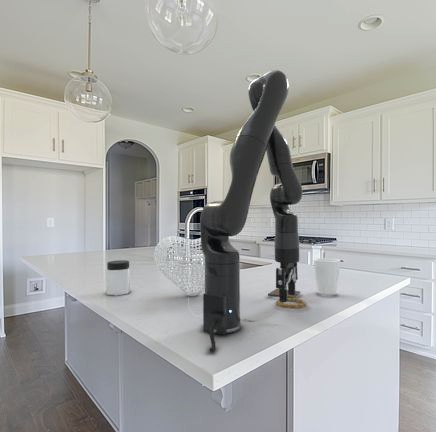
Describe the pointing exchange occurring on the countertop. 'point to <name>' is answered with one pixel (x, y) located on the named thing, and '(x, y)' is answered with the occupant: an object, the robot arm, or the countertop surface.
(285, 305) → the ring
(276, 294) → the post
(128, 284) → the jar
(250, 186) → the robot arm
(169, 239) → the heart
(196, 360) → the countertop surface
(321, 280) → the foam cup
